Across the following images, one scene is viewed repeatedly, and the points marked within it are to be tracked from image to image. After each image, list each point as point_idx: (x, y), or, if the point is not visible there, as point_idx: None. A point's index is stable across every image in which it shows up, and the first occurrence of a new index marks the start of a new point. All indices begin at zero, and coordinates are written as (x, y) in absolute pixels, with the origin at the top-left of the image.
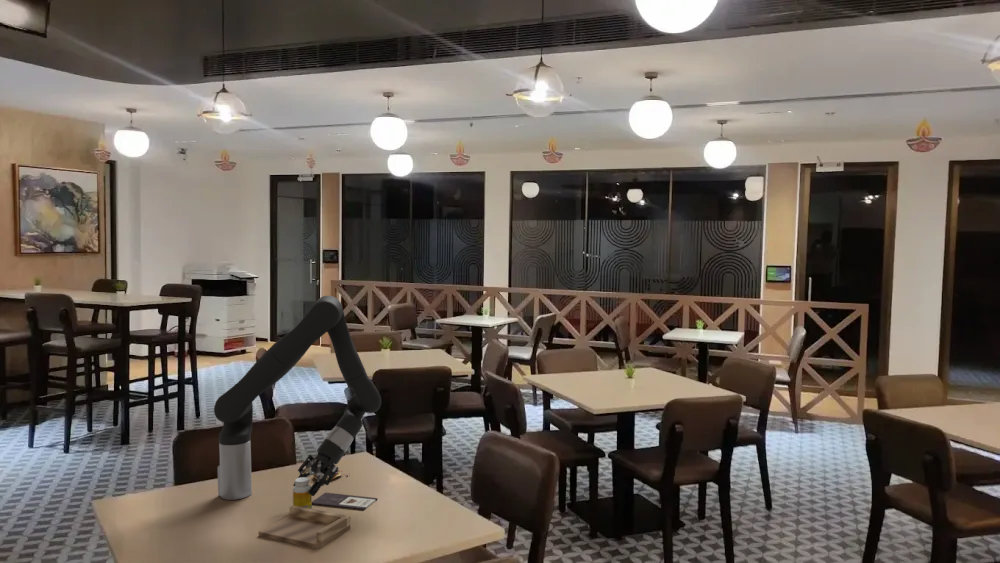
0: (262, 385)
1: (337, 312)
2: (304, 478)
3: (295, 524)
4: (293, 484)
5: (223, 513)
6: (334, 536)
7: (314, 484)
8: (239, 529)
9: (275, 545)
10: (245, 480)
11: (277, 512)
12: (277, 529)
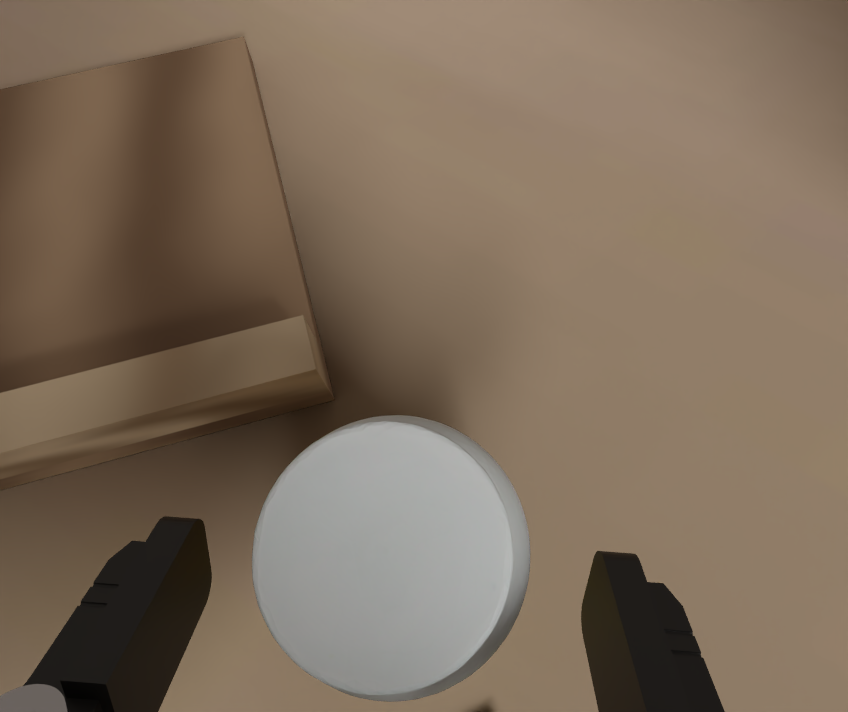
0: None
1: None
2: (392, 622)
3: (108, 262)
4: (636, 557)
5: (841, 107)
6: None
7: (98, 629)
8: (461, 42)
9: (29, 53)
10: None
11: (552, 376)
12: (157, 130)
